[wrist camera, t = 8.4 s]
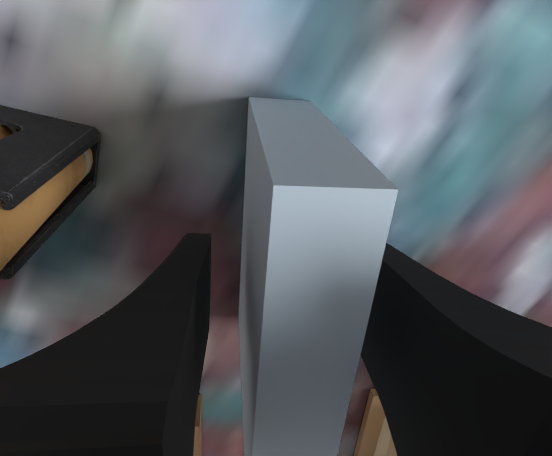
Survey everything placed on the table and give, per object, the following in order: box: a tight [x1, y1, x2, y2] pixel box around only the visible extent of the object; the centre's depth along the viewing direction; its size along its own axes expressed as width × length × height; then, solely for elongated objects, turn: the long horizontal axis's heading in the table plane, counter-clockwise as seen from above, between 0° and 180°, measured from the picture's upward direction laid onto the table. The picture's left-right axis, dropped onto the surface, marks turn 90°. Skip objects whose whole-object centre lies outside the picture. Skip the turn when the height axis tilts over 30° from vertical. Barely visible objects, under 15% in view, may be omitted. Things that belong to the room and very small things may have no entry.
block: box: [239, 97, 398, 456], centre depth 11 cm, size 2×8×7 cm, turn 176°
